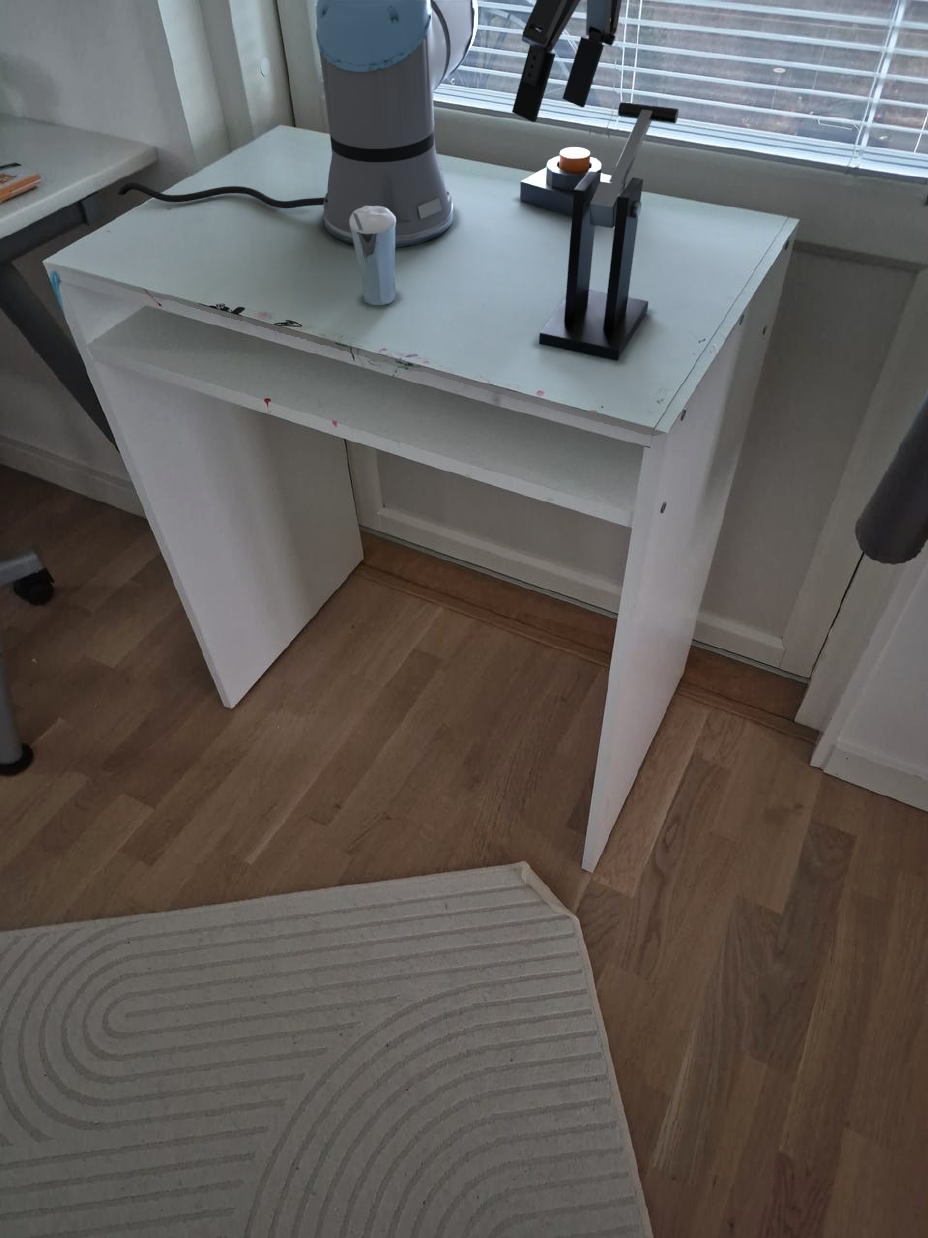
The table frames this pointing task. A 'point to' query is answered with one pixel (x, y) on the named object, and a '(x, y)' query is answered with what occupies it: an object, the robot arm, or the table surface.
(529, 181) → the control block
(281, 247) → the table surface
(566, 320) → the stand
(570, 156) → the button
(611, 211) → the switch lever
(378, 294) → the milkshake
